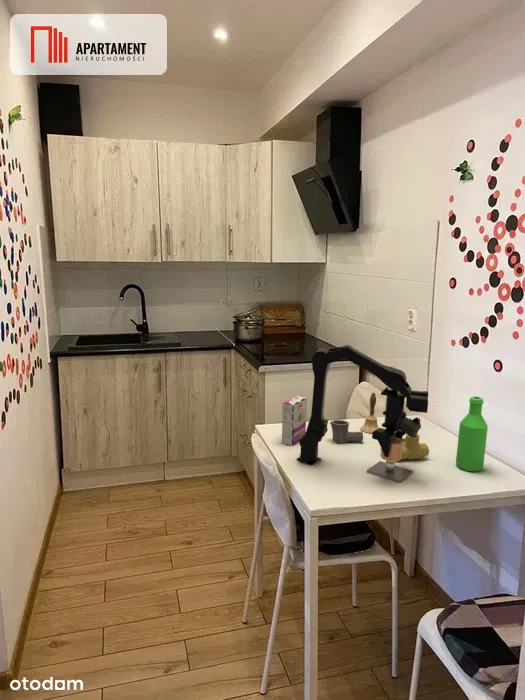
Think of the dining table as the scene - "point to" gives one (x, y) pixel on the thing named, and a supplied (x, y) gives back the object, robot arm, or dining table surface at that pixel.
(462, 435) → the bottle
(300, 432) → the candy bar box
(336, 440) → the pipe
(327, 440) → the dining table surface
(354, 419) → the dining table surface
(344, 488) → the dining table surface
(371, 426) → the hand bell
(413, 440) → the ball valve
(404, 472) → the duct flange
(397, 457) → the collar
